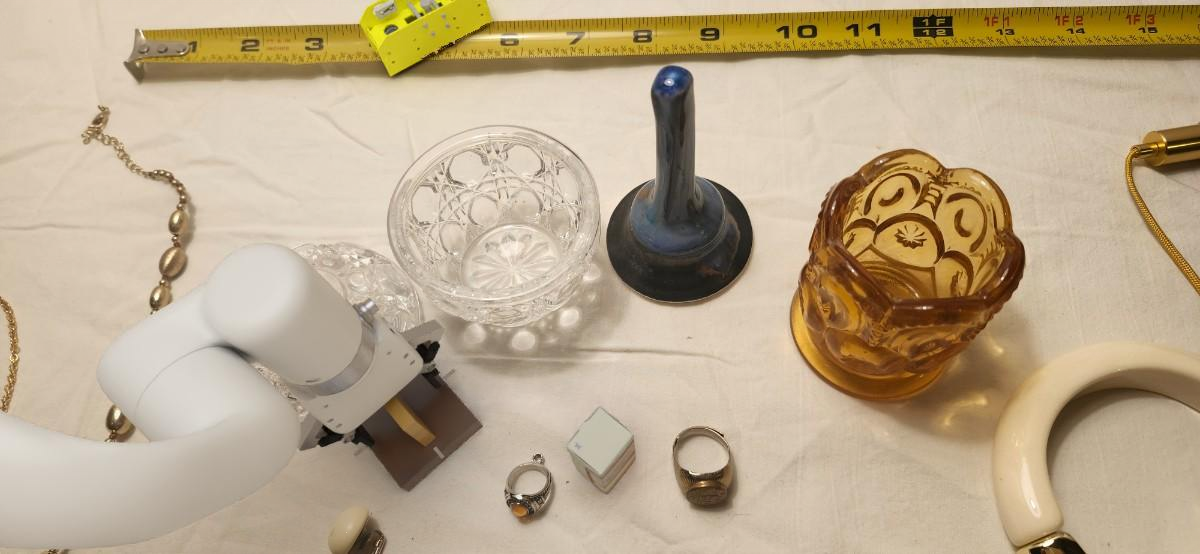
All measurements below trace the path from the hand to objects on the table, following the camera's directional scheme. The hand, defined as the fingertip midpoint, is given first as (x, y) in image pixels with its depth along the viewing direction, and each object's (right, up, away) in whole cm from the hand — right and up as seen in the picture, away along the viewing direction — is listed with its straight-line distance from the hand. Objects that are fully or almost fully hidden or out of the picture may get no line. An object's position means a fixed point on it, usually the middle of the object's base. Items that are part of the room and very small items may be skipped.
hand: (398, 405), depth 76 cm
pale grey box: (+21, -6, +1) cm, 22 cm away
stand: (0, -2, +4) cm, 5 cm away
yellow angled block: (0, -1, +2) cm, 2 cm away
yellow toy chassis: (-2, +46, +28) cm, 54 cm away
